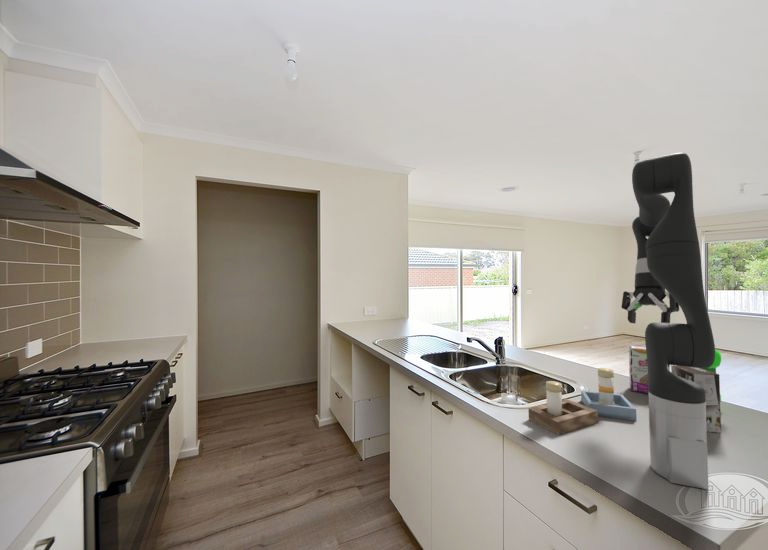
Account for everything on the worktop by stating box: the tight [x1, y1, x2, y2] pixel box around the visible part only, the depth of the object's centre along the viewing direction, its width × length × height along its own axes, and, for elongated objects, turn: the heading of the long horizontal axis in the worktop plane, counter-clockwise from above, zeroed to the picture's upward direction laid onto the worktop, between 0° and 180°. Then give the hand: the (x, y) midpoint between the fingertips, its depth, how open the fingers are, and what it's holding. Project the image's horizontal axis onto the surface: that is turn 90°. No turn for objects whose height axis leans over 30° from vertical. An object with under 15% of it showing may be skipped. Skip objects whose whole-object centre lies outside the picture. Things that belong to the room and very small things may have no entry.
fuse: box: [545, 380, 563, 417], centre depth 92 cm, size 4×4×12 cm
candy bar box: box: [628, 345, 671, 394], centre depth 114 cm, size 11×5×16 cm, turn 58°
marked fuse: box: [597, 367, 615, 405], centre depth 100 cm, size 4×4×12 cm
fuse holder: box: [528, 398, 599, 436], centre depth 93 cm, size 17×10×4 cm, turn 113°
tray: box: [580, 390, 637, 422], centre depth 100 cm, size 12×12×4 cm
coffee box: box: [670, 365, 722, 434], centre depth 90 cm, size 9×6×16 cm
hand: (647, 324), depth 96 cm, fingers open, 8 cm apart
